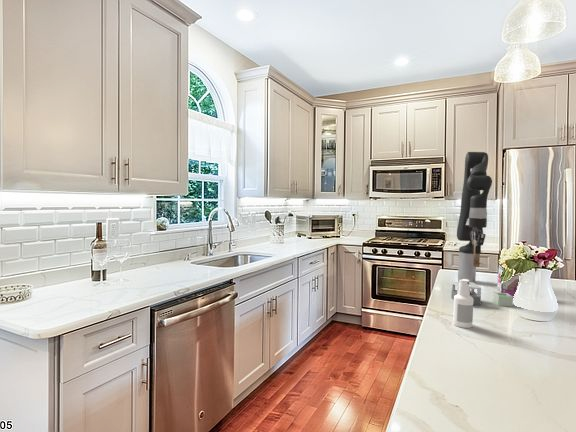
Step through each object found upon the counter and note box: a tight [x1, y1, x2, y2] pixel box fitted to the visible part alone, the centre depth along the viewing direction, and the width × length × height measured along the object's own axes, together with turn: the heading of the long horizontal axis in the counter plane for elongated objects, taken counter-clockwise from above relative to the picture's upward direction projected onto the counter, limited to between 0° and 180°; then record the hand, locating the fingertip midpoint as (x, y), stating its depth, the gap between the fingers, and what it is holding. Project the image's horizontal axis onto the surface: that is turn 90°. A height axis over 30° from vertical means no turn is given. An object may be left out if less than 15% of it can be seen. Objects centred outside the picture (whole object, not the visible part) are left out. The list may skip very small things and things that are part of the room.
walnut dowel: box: [473, 240, 481, 268], centre depth 172 cm, size 3×3×13 cm
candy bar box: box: [496, 264, 519, 296], centre depth 180 cm, size 11×5×16 cm, turn 84°
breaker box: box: [450, 280, 482, 306], centre depth 170 cm, size 10×10×8 cm
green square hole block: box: [492, 291, 514, 307], centre depth 166 cm, size 6×6×5 cm
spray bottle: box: [452, 279, 474, 329], centre depth 139 cm, size 7×7×18 cm
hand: (476, 252), depth 171 cm, fingers closed on walnut dowel, 2 cm apart
